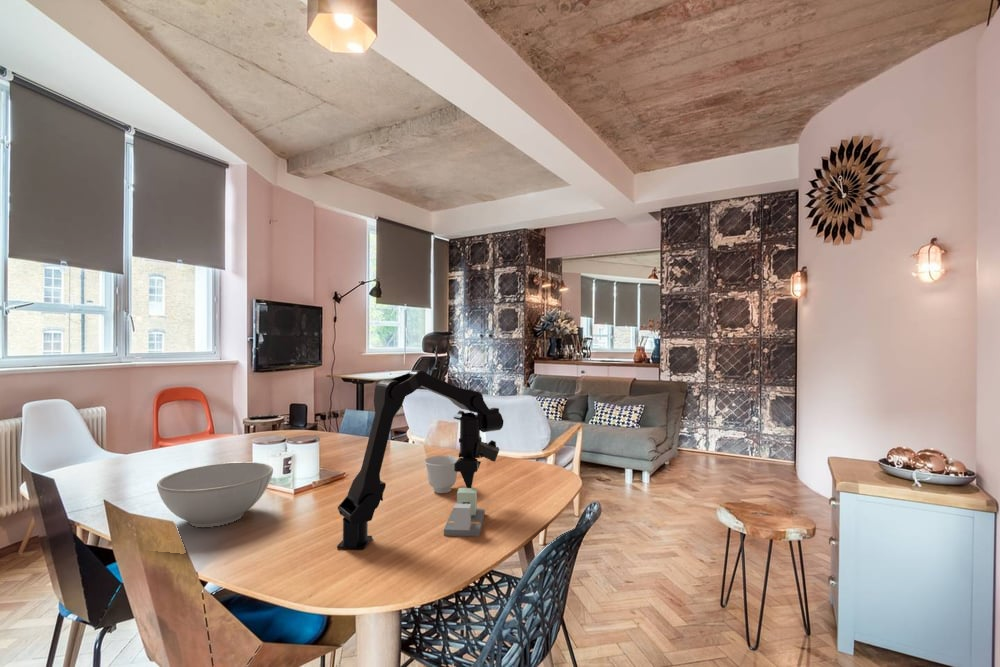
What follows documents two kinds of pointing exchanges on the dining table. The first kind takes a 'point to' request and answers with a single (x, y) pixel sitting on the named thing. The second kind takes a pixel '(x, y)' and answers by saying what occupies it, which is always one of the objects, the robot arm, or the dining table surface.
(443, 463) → the teacup
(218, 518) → the decorative bowl
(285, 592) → the dining table surface
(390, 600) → the dining table surface
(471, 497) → the sleeve
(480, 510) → the board
